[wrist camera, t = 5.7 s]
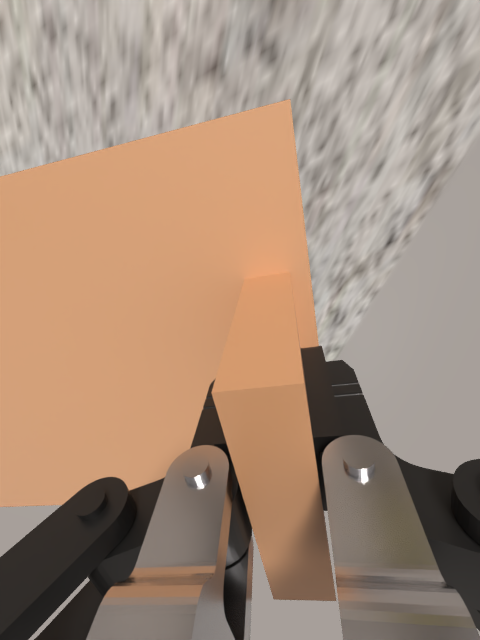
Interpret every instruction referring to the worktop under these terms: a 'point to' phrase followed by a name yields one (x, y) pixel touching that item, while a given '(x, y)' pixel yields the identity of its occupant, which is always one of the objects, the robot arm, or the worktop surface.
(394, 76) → the worktop surface
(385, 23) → the worktop surface
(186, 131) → the lid
